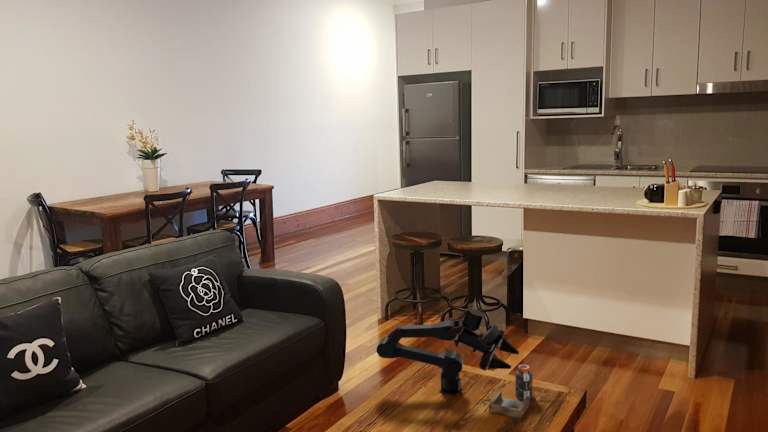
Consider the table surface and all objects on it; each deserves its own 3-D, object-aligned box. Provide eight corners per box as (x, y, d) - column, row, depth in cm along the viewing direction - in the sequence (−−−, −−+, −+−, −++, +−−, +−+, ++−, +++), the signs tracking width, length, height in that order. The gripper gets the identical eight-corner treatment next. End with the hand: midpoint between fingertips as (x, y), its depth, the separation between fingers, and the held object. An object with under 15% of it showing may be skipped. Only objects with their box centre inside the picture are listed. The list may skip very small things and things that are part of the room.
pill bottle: (532, 400, 210) (532, 370, 208) (515, 399, 211) (515, 369, 209) (532, 392, 216) (532, 363, 214) (515, 391, 217) (515, 362, 215)
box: (488, 412, 203) (488, 404, 202) (499, 398, 212) (498, 390, 212) (520, 419, 197) (520, 410, 197) (529, 404, 207) (529, 396, 206)
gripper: (471, 337, 204) (513, 357, 198) (488, 310, 219) (528, 329, 214) (463, 361, 209) (504, 381, 204) (480, 334, 224) (519, 352, 219)
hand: (514, 360), depth 210 cm, fingers open, 9 cm apart
